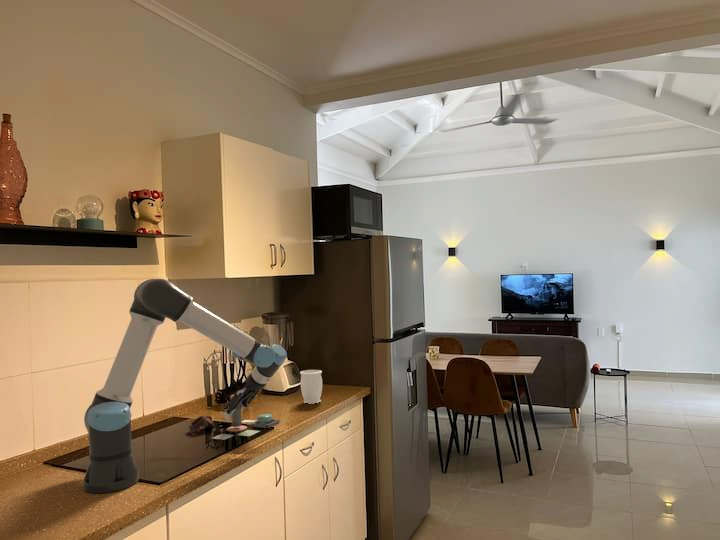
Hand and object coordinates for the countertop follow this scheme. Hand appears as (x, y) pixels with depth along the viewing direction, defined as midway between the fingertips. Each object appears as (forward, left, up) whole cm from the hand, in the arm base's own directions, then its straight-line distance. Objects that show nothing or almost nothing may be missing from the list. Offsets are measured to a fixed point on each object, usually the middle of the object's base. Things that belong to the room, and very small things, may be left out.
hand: (229, 416), depth 214 cm
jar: (+45, -28, -6) cm, 53 cm away
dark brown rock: (-3, +9, -6) cm, 12 cm away
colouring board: (-5, -6, -6) cm, 10 cm away
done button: (+2, -14, -3) cm, 14 cm away
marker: (-2, -3, -3) cm, 5 cm away
